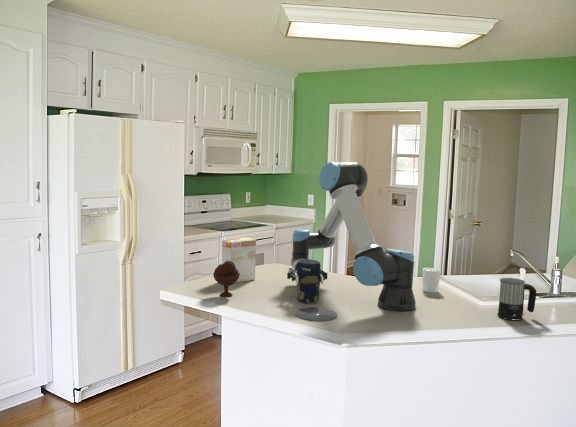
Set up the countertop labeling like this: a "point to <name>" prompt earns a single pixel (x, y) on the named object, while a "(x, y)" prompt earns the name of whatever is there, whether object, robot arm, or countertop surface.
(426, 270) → the white cup
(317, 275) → the canister
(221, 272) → the ice cream bowl
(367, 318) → the countertop surface
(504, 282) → the milk frother
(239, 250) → the coffeecake box
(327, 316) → the disc
